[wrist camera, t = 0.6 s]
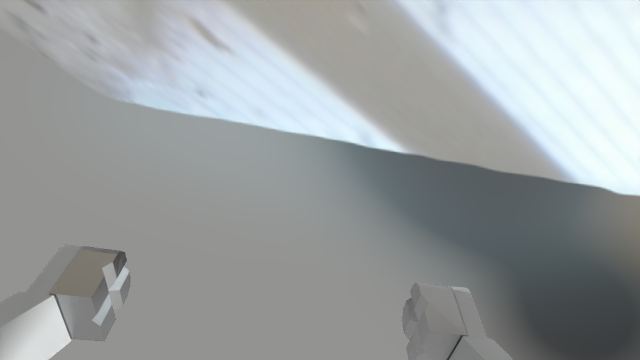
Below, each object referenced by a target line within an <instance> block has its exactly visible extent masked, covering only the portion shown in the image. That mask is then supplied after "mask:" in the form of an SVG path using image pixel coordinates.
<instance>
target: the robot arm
mask: <svg viewBox="0 0 640 360" xmlns="http://www.w3.org/2000/svg"><path fill="white" fill-rule="evenodd" d="M126 261H127V258H126V255H125V252H123V251H117V250H108V249H101V248H94V247H87V246H77V245H69V244H65V245H64V246H62V247H61V248H59V250H58V251H57V252H56V254H55V255H54V256H53V257H52V259H51V260H50V261H49V262H48V264H47V265H46V266H45V268H44V269H43V270H42V272H41V273H40V274H39V276H38V277H37V278H36V279H35V281H34V282H33V283H32V284H31V286H30V287H29V288H28V290H27V291H26V292H18V293H16V294H14V295H12V296H11V297H9V298H7V299H5V300H3V301H1V302H0V360H48V359H50V358H51V357H52V356H53V355H54V354H56V353H57V352H58V351H59V350H61V349H62V348H63V347H64V346H66V345H67V344H68V343H69V342H71V339H80V340H95V341H105V339H106V337H107V336H108V333H109V331H110V330H111V328H112V326H113V324H114V322H115V320H116V318H115V314H114V311H115V310H117V309H118V308H120V307H121V306H122V305H123V304H124V302H125V300H126V298H127V296H128V292H129V288H130V273H129V271H128V270H127V269H126V268H125V267H124V265H125V263H126ZM411 296H412V298H410V299H409V300H407V301H406V303H405V306H404V308H403V316H402V321H403V330H404V334H405V335H406V336H407V337H408V339H409V340H410V341H409V343H408V345H407V354H408V358H409V360H513V359H512V358H511V357H510V356H509V355H508V354H507V353H506V352H505V351H504V350H503V349H502V348H501V347H500V346H499V345H498V344H497V343H496V342H494V340H493V339H487V337H486V334H485V331H484V328H483V326H482V323H481V321H480V318H479V315H478V312H477V309H476V307H475V304H474V301H473V299H472V296H471V293H470V291H469V290H468V289H467V288H462V287H452V286H445V285H435V284H424V283H415V284H414V285H413V286H412V289H411Z"/></svg>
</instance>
